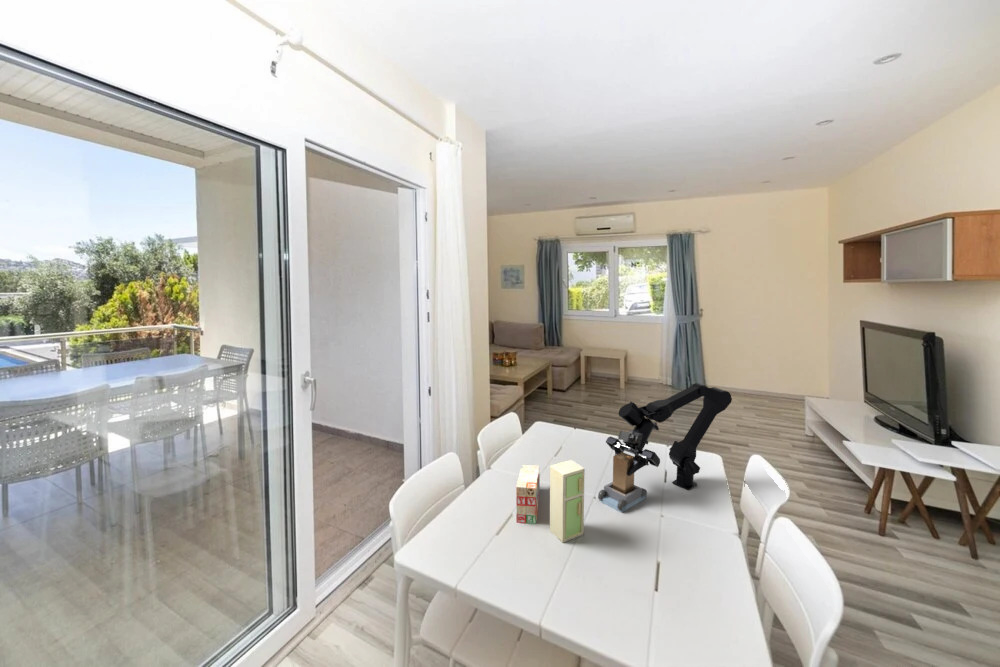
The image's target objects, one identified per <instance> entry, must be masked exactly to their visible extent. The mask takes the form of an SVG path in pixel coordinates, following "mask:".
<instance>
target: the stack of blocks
mask: <svg viewBox="0 0 1000 667" xmlns="http://www.w3.org/2000/svg"><path fill="white" fill-rule="evenodd" d="M540 476H541V474H540V465H535V464H534V465H533V464H532V465H531V464H529V465H528V464H527V465H526V464H522V468H520V470H519V476H518V479H517V482H516V490H515V491H516V494H515V495H516V498H515V500H516V513H515V514H516V523H519V524H528V525H536V524H537V518H538V510H539V498H540V491H539V490H541V489H540V488H541V487H540V484H541V483H540V478H541V477H540Z"/></svg>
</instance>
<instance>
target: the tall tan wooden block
mask: <svg viewBox="0 0 1000 667" xmlns="http://www.w3.org/2000/svg"><path fill="white" fill-rule="evenodd" d="M634 456H635V455H634ZM634 456H633V455H631V454H628V453H626V452H621V453H619V454H617V455H615V454H614V455H613V459H612V460H613V461H612V462H613V463H612V482H613V489H615V490H617V491H619V492H621V493H623V494H625V495H626V494H628V493H629V492H631V491H633V490H634V485H635V472H634V473H633V474H631V475H630V476H628V475H627V473H628V471H629V469H630V467H631V465H632V463H633V461H634Z"/></svg>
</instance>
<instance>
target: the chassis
mask: <svg viewBox="0 0 1000 667" xmlns="http://www.w3.org/2000/svg"><path fill="white" fill-rule="evenodd" d="M647 495H648V491H647V489H645V488H643V487H640V486H638V485H636V484H634V490H633V491H631V492H629V493H628V494H626V495H625V494H623V493H621V492H619V491H617V490H615V489H613V481H611V482H610V483H608V484H606V485H604V486H603V489H600V491H599V492H598V495H597V499H598V502H601V503H602V504H605V505H606V506H608V507H610V508H612V509H614V510H616V511H617V512H620V513H623V512H625V511H627V510H628V509H630V508H632V507H633V506H635V505H637V504H638V503H640V502H641V501H643V500H645V499H646V498H647Z"/></svg>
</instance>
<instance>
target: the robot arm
mask: <svg viewBox="0 0 1000 667" xmlns="http://www.w3.org/2000/svg"><path fill="white" fill-rule="evenodd" d="M701 397H703V399H702V400H703V401H702V403H703V404H702V409H701V410H700V412H699V413H698V414H697V416H696V418H695V420H694V422H693V423H692V425H691V426H690V428H689V429H688V431H687V433H686V434H685V436H684V438H683V439H682V440H680V441H677V440H674V442H673V444H672V446H671V447H670V448H668V449H669V453H668V456H669V459H670V460H671V462H672V464H673V465H675V466H676V478H675V480H673V481H672V482H671V484H673V485H675V486H678V487H680V488H683V489H684V490H688V491H690V490H691V489H693V488H695V487H696V486H697V485H698V483H697V482H695V481H694V478H695V477H694V476H695V475H696V474H699V472H700V471H701V467H700V465H698V464H697V463H696V462H695V460H696V458H697V448H698V445H699V444H700V442H701V441H702V440H703V437H704V436H705V434H706V433H707V431H708V429H709V428H710V426H711V425H712V423H713V422H714V420H715V418H716V416H717V415H718V414H719V413H722V412H724V411H725V410H726V409H727V408H728V407H729V406H730V405H731V403H732V401H733V398H732V395H731V392H729V391H727V390H724V389H721V388H718V387H715V386H712V387H708V386H706V385H705V384H701V383H699V382H695V383H693V384H692V385H690V386H689V387H687V388H685V389H683V390H681V391H679V392H677V393H675V394H672V396H670V397H667V398H664V399H658V400H654V401H651V402H649V403H647V404H646V405H643V406H640V407H639V406H637V404H636V403H635V402H633V401H630V402H629V403H626V404H624V405H623V406H621V407H620V408H619V411H618V416H619V417H620V418H621V419H623V421H625V422H626V423H627V424H628V425H629V426H631V427H633V428H632V430H631V429H630V430H629V431H628V432H627V431H623V430H620V431H619V436H618V438H616V437H613V436H608V437H607V438H606V440H605V443H606V444H607V446H608V447H609V448H610V449H611V450H612V451H614V455H617V454H619V453H621V452H623V453H625V452H627V453H630V454H632V455H634V461H633V463H632V465H631V467H630V469H629V471H628V473H627V475H628V476H630V475H631V474H633V473H634V474H635V473H636V472H637V471H639V470H640V469H641V468H644V467H645V466H647V467H648V466H649V465H651V466H654V467H657V468H658V467H659V466H660V463H661V458H660V457H659V456H658V455H657V453H656V452H655V451H652V450H649V449H647V448H645V446H646V445H649V443H650V442H649V438H650V436H651V434H652V432H653V431H659V429H660V428H659V425H658V423H663V422H666V421H667V420H668V419H669V418H671V417H672V415H673V414H674V412H675V411H677V410H678V409H681V408H682V407H685V406H686V405H688V404H690V403H692V402H694V401H696V400H698V399H699V398H701ZM621 440H622V442H621ZM644 448H645V449H644Z"/></svg>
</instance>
